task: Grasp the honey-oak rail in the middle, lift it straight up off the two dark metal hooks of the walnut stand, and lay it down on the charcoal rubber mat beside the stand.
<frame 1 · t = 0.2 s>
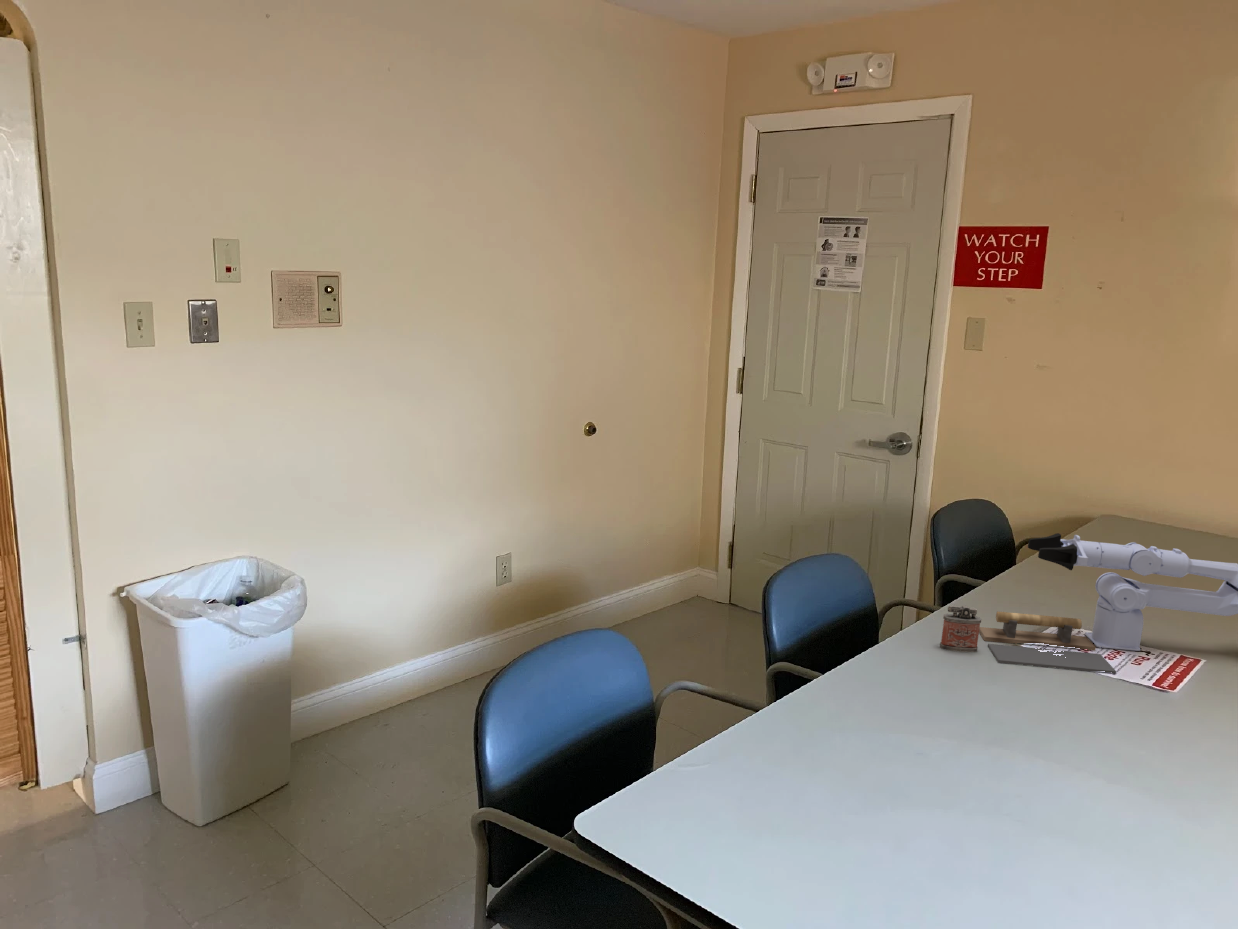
hand: (1033, 548, 207), 21 cm above the table, tool horizontal, fingers open, 7 cm apart
hook stand: (1035, 640, 209), on the table
rail: (1037, 625, 208), point 4 cm above the table, touching hook stand
mat: (1049, 659, 199), on the table
lighter: (958, 649, 203), on the table
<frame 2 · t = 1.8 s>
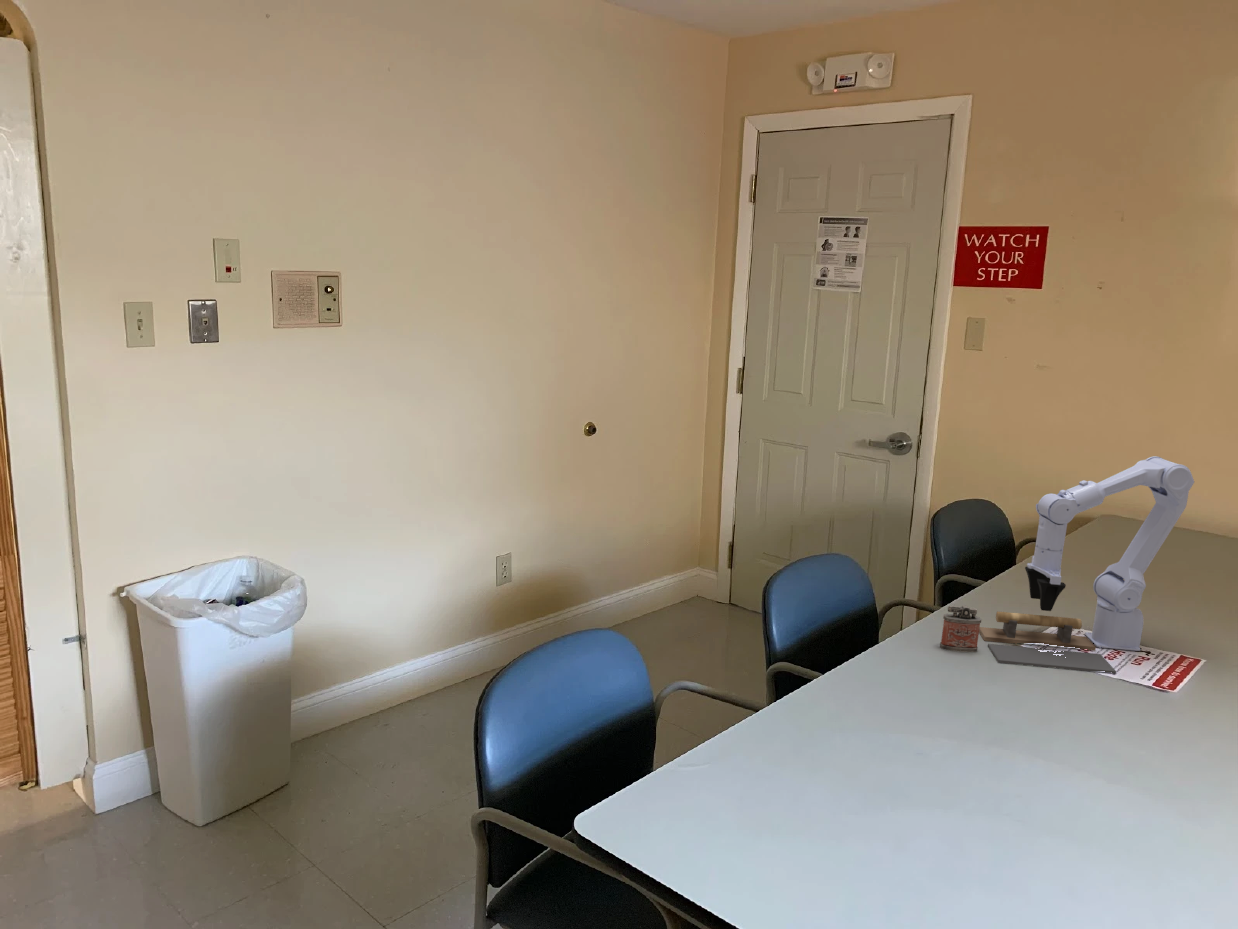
hand: (1040, 604, 207), 9 cm above the table, tool pointing down, fingers open, 7 cm apart
nothing on the table moved.
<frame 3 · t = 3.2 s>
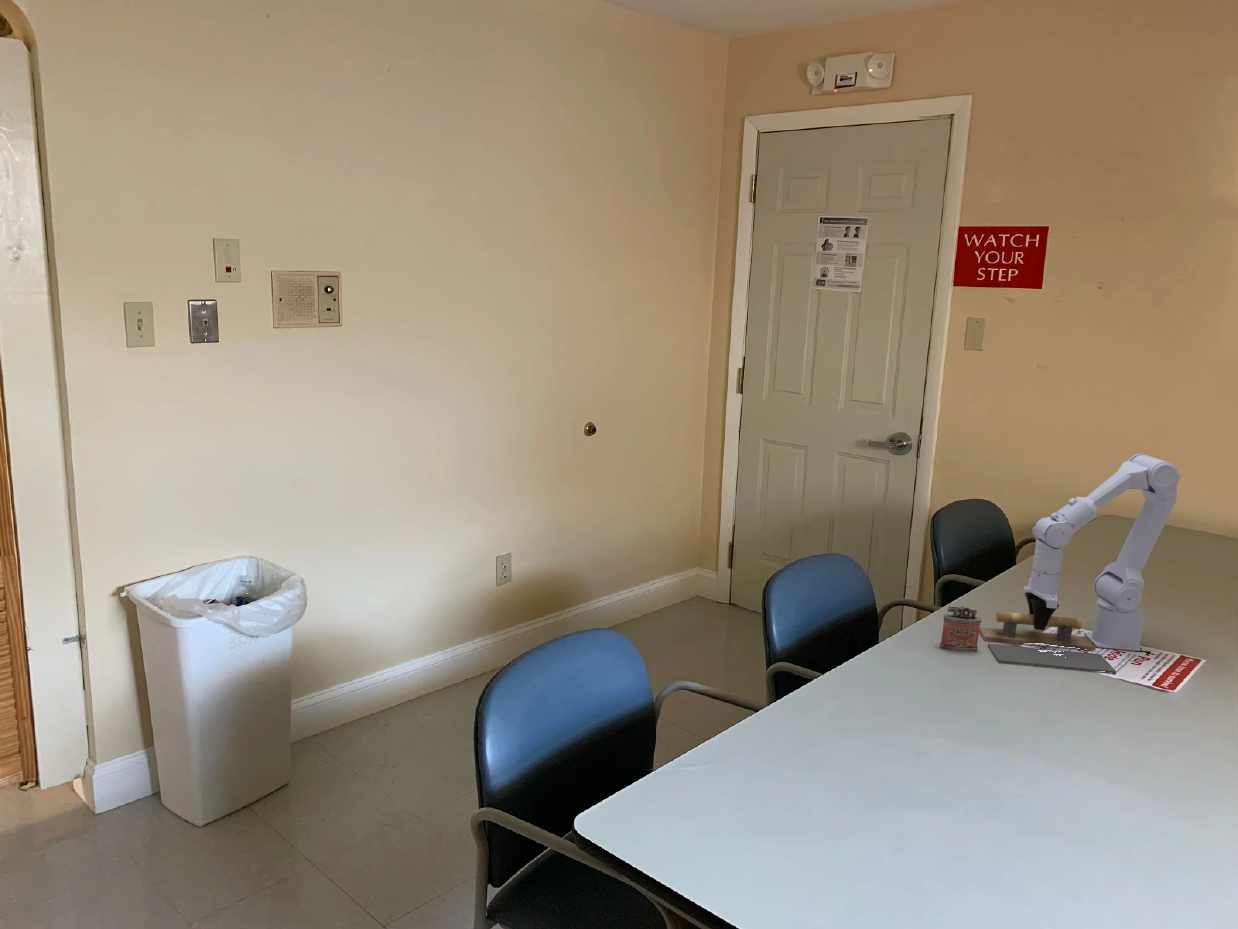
hand: (1037, 626, 208), 3 cm above the table, tool pointing down, fingers closed on rail, 2 cm apart
rail: (1037, 625, 208), point 4 cm above the table, touching gripper, hook stand
everything else where it was.
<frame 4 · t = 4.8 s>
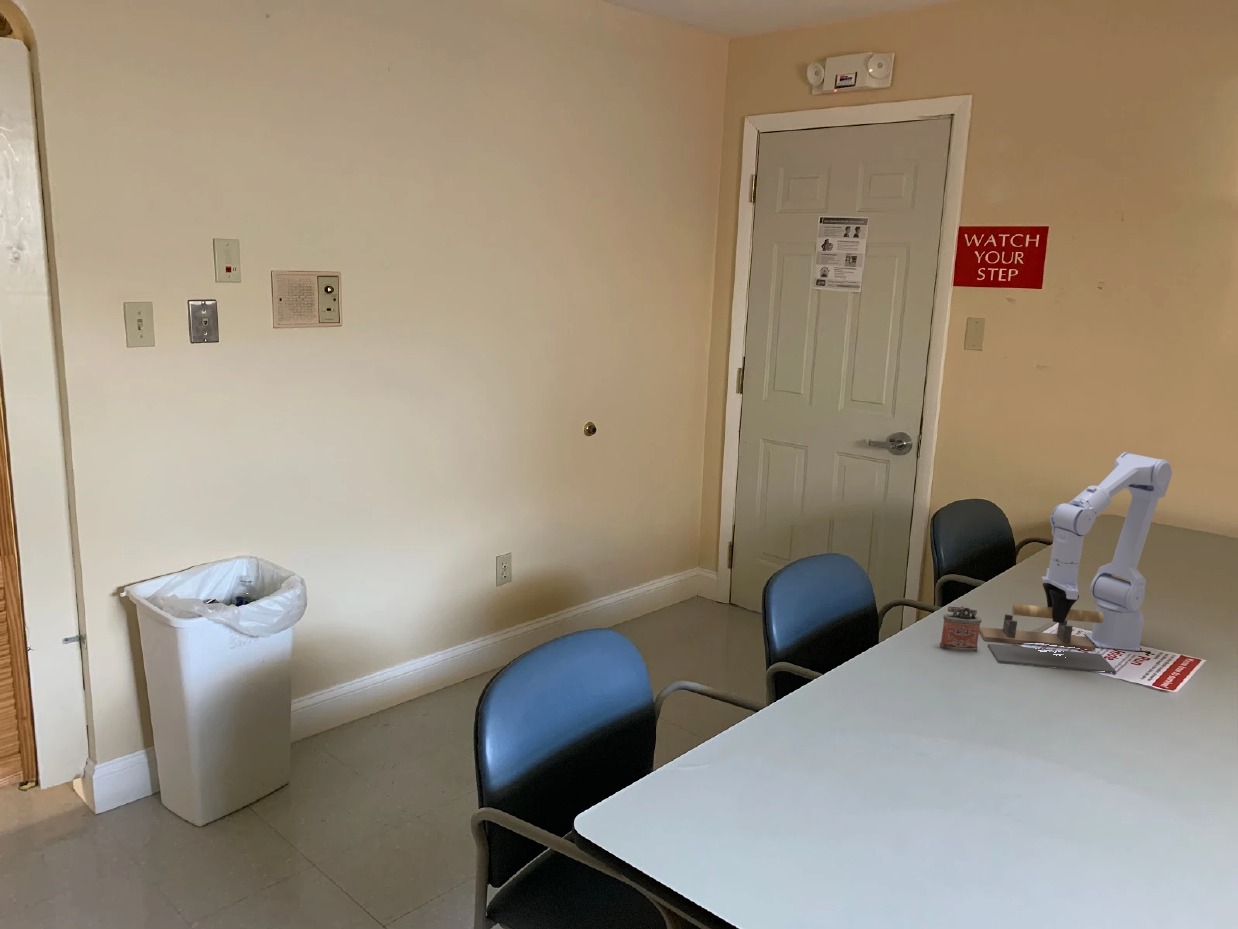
hand: (1056, 619, 197), 9 cm above the table, tool pointing down, fingers closed on rail, 2 cm apart
rail: (1056, 618, 197), point 10 cm above the table, touching gripper
everything else where it was.
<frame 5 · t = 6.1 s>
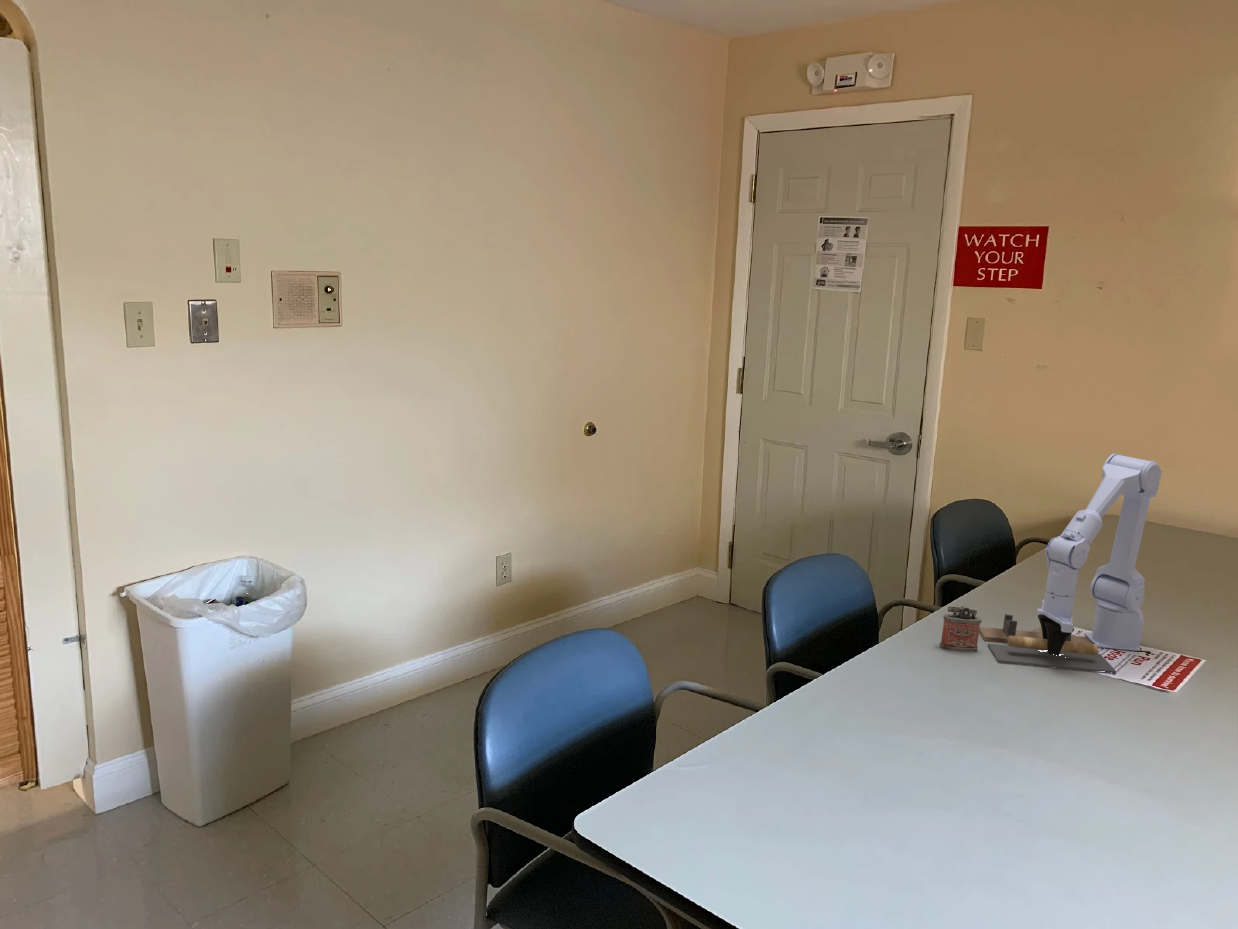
hand: (1051, 651, 198), 2 cm above the table, tool pointing down, fingers closed on rail, 2 cm apart
rail: (1051, 650, 198), point 2 cm above the table, touching gripper
everything else where it was.
when the fingers open (2 cm above the table, at t = 6.9 s): rail drops 1 cm, resting on mat.
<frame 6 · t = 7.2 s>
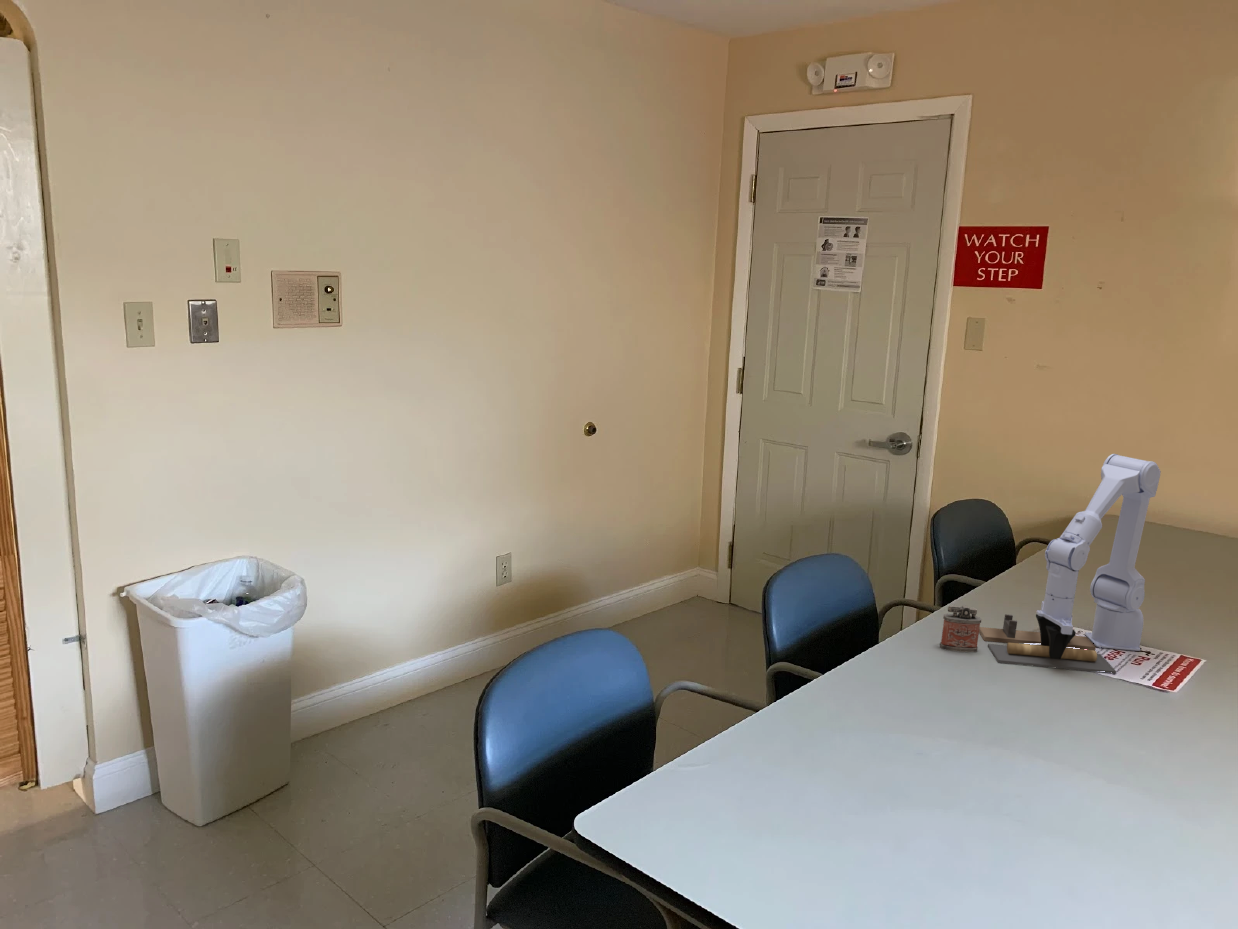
hand: (1050, 652, 198), 2 cm above the table, tool pointing down, fingers open, 5 cm apart
rail: (1050, 657, 198), point 1 cm above the table, touching mat
everything else where it was.
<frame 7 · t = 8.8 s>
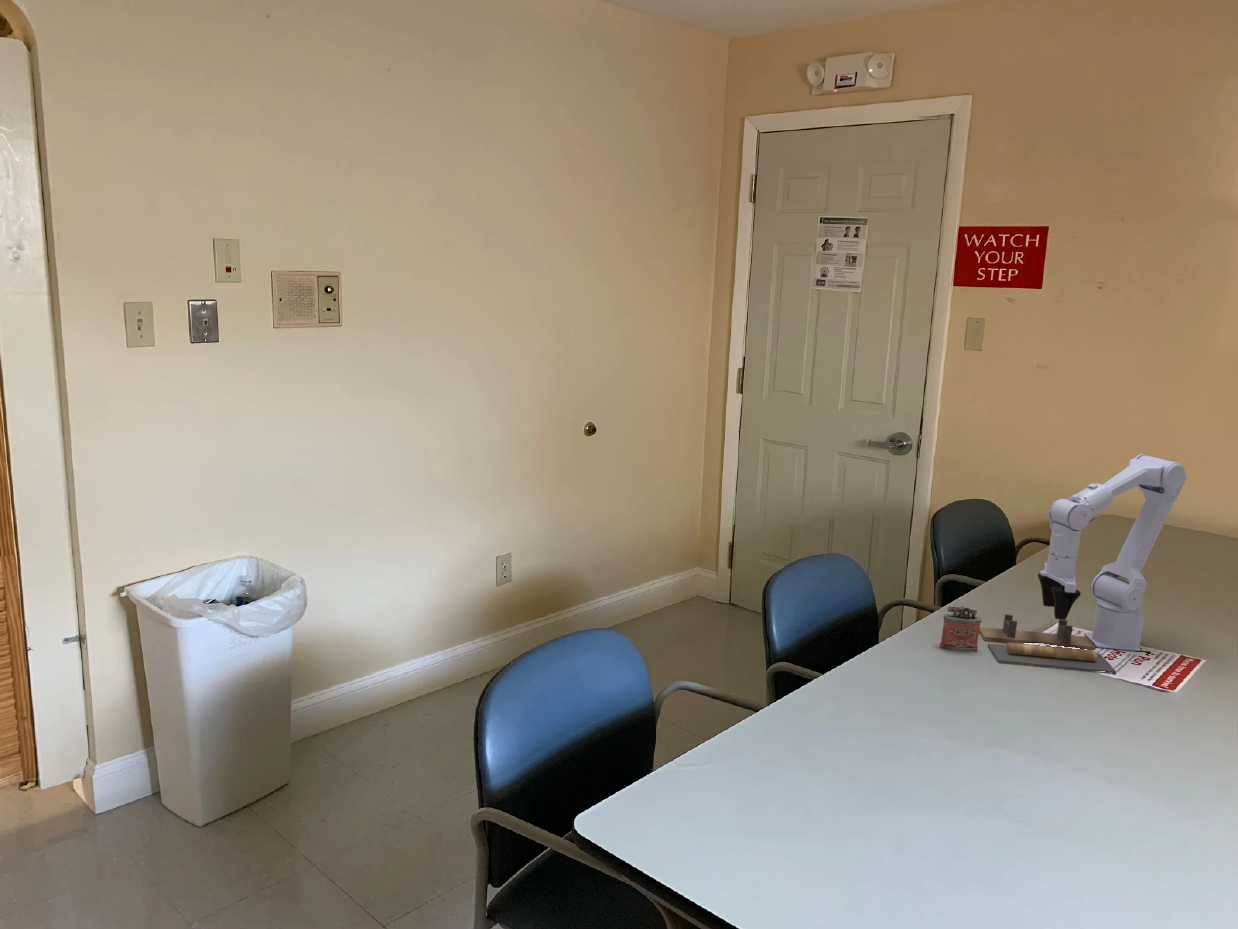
hand: (1054, 612, 202), 9 cm above the table, tool pointing down, fingers open, 7 cm apart
nothing on the table moved.
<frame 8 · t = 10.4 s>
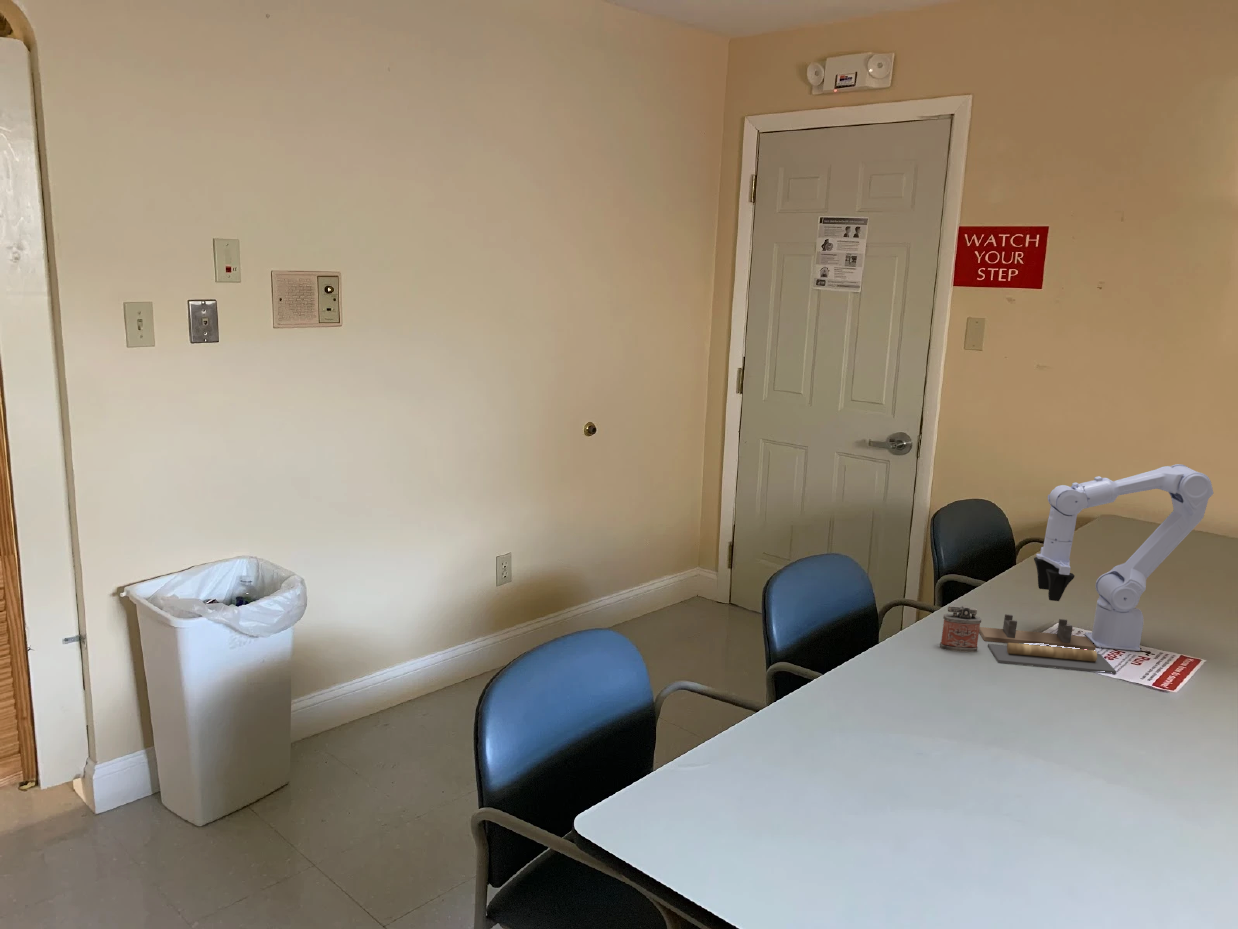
hand: (1048, 594, 209), 10 cm above the table, tool pointing down, fingers open, 7 cm apart
nothing on the table moved.
at the end: rail inside the target area on the mat (0.1 cm from its centre), point 0.6 cm above the mat's base; rail touching mat; the gripper is holding nothing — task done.
